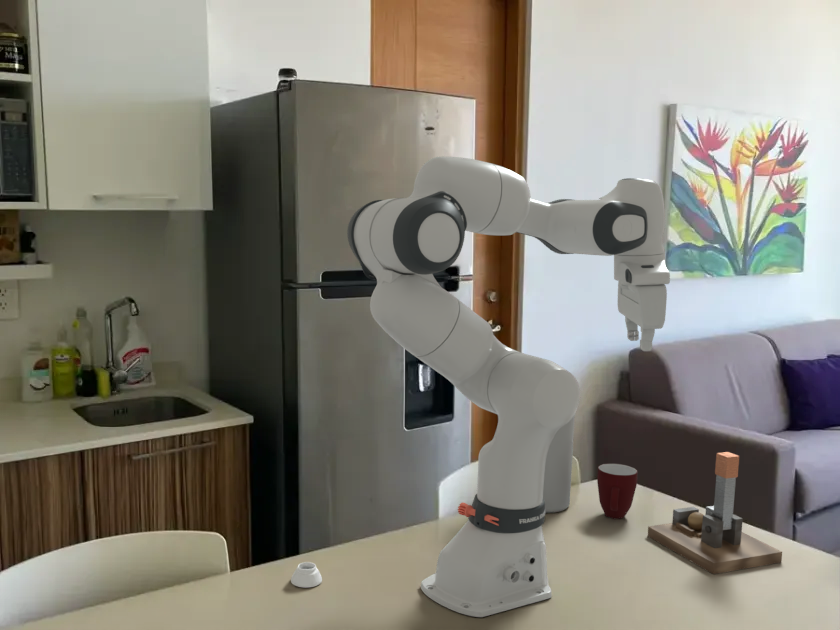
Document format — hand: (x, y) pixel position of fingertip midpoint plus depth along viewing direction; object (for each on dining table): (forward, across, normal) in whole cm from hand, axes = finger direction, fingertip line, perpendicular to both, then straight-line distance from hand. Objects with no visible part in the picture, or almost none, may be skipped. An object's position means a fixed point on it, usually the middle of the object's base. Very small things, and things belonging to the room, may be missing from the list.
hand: (639, 345), depth 147 cm
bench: (+40, 0, +14) cm, 42 cm away
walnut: (+38, -4, +12) cm, 40 cm away
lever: (+35, +1, +15) cm, 38 cm away
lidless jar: (+34, +21, -60) cm, 72 cm away
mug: (+40, -15, -2) cm, 42 cm away
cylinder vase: (+39, -21, -16) cm, 47 cm away
